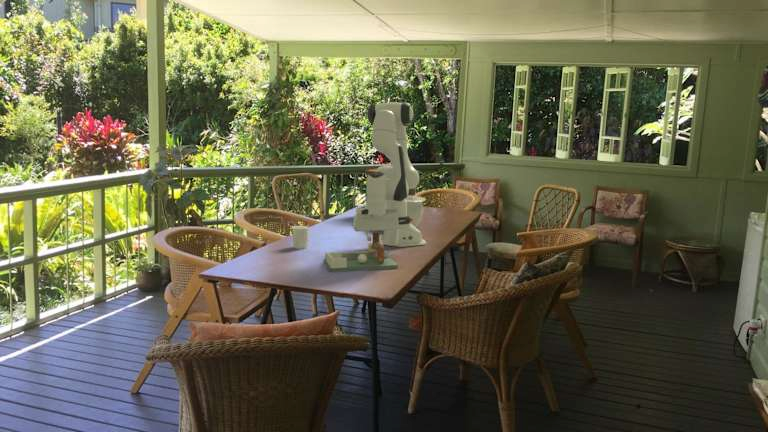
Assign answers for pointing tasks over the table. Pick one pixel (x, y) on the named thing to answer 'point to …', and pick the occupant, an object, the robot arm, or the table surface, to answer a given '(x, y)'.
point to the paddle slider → (377, 247)
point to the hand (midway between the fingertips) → (375, 240)
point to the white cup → (300, 236)
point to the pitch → (355, 263)
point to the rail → (355, 254)
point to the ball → (362, 258)
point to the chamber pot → (415, 208)
